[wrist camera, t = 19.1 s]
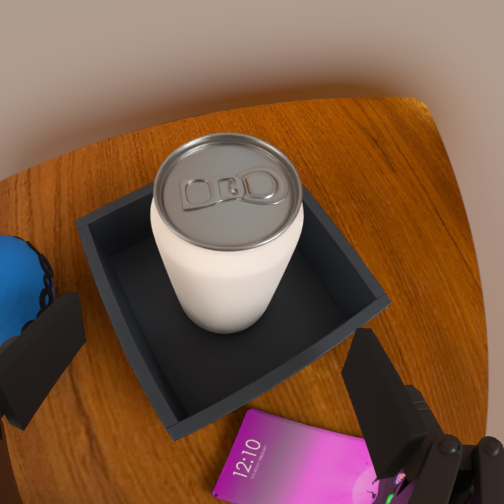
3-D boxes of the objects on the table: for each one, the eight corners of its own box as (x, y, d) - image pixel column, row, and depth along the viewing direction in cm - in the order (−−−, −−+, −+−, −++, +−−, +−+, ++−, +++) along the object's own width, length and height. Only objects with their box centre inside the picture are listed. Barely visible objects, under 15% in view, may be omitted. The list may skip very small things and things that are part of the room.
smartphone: (394, 526, 15) (399, 529, 14) (210, 494, 16) (210, 498, 15) (424, 448, 18) (431, 449, 17) (248, 406, 19) (249, 406, 18)
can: (279, 325, 21) (338, 245, 11) (186, 342, 20) (146, 277, 9) (258, 243, 24) (286, 121, 13) (173, 257, 23) (141, 137, 12)
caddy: (356, 325, 23) (392, 302, 17) (186, 430, 18) (173, 442, 13) (255, 186, 27) (263, 139, 22) (101, 258, 23) (74, 220, 18)
